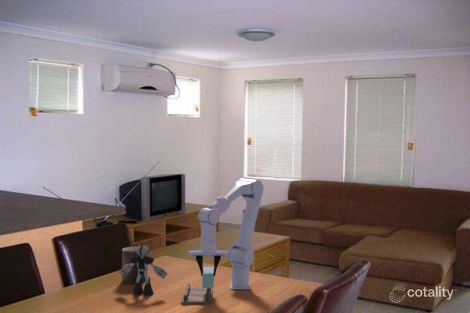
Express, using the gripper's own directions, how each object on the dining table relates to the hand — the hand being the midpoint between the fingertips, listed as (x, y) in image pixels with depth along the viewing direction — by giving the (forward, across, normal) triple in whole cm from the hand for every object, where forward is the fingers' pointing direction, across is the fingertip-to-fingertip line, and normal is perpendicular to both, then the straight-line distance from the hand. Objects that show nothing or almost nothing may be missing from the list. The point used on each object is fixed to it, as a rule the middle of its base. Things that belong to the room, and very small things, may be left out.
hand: (208, 275), depth 190 cm
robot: (+9, -26, +5) cm, 27 cm away
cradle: (+8, -4, 0) cm, 9 cm away
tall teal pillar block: (+3, 0, 0) cm, 3 cm away
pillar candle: (+9, -32, +22) cm, 40 cm away
